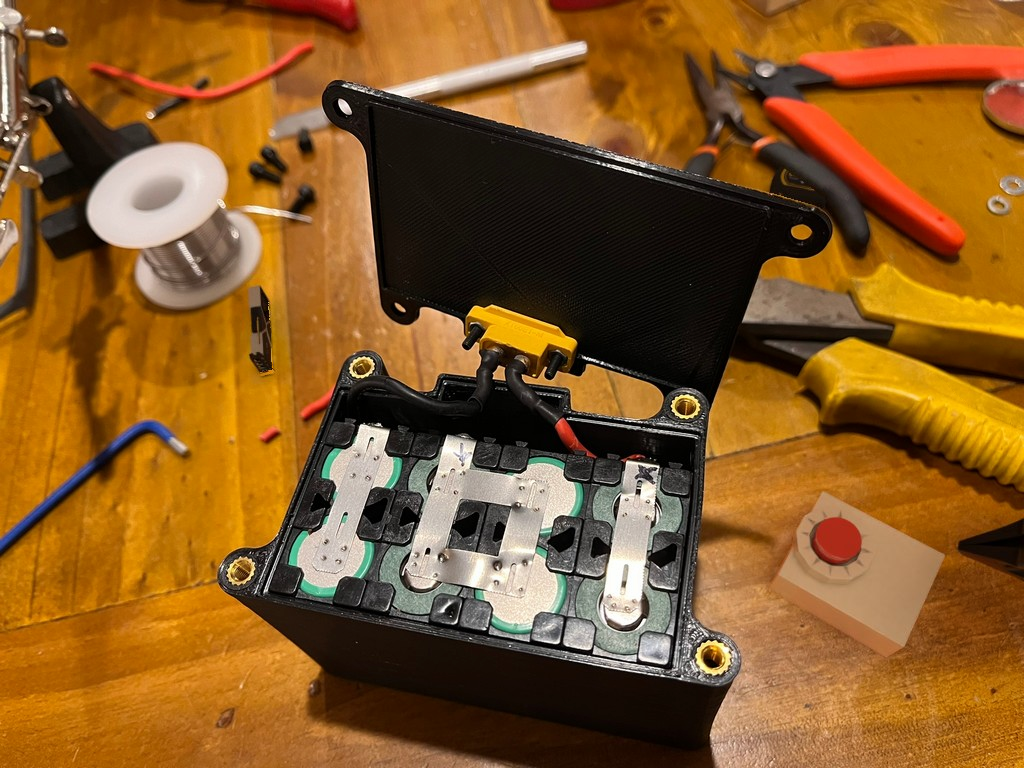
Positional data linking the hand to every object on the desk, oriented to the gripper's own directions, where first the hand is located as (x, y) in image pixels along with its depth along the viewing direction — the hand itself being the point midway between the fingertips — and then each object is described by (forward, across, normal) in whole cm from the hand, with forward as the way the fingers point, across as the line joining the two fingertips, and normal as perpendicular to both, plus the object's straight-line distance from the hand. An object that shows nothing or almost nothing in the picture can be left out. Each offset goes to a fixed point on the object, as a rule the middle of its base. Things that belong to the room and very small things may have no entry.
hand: (959, 548), depth 65 cm
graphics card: (+65, -2, -47) cm, 80 cm away
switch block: (+13, +1, +5) cm, 14 cm away
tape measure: (+25, -45, -7) cm, 52 cm away
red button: (+10, +1, -2) cm, 11 cm away
